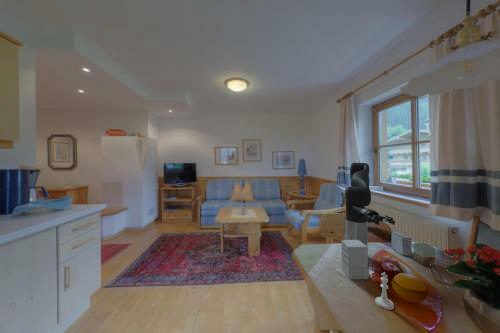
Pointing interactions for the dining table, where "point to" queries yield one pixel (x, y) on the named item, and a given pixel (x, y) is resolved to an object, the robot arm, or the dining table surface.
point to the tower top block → (424, 250)
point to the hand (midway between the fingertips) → (386, 223)
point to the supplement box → (354, 259)
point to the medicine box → (401, 244)
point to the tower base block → (424, 260)
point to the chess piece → (384, 295)
